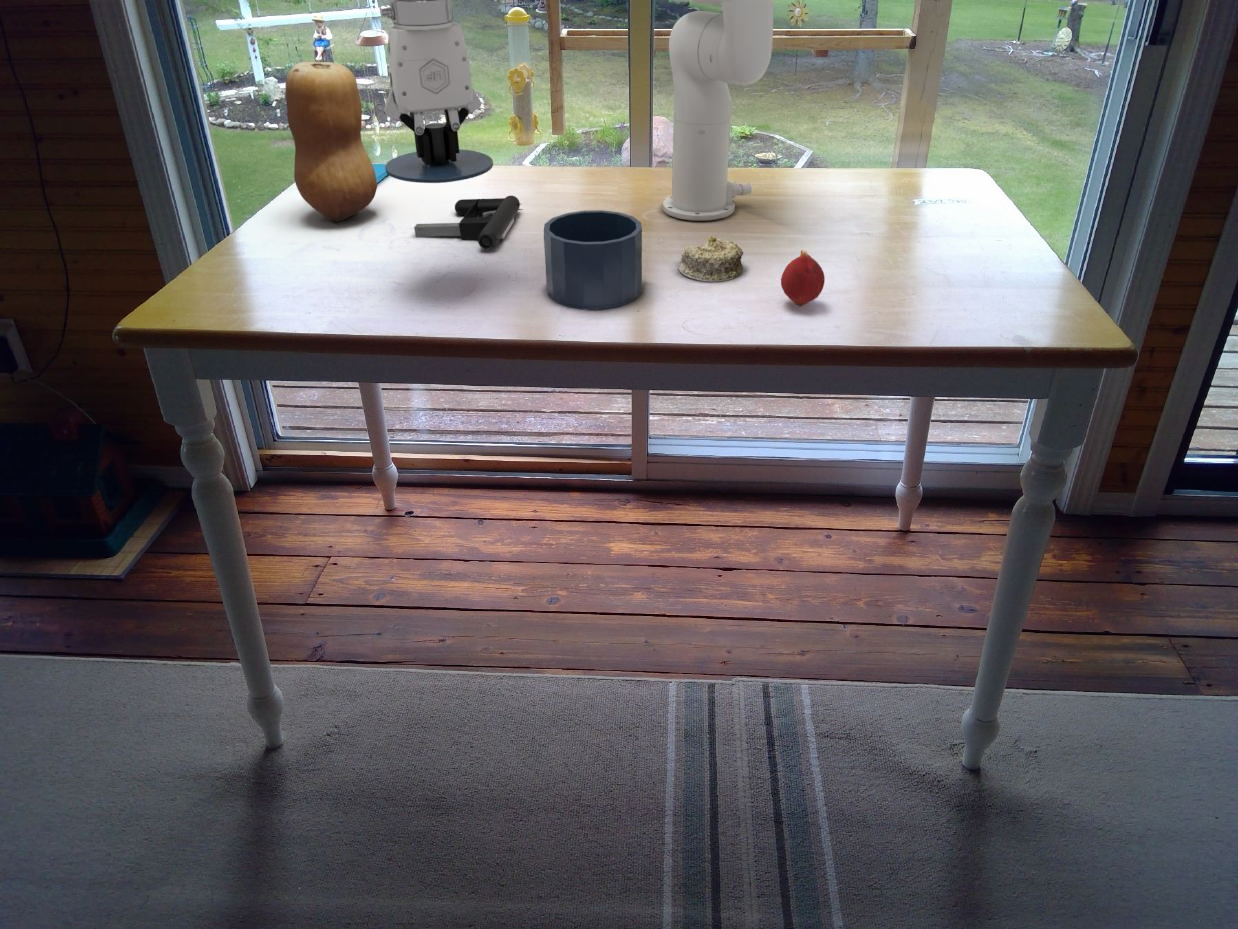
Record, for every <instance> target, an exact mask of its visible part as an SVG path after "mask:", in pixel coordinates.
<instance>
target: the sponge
mask: <svg viewBox="0 0 1238 929" xmlns="http://www.w3.org/2000/svg"><path fill="white" fill-rule="evenodd" d="M386 164H387V163H372V165H373V168H374V171H375V175H376V181H377V184H378V183H380V182H381V181H382V180H383V179H385V178H386V177H387V176H389V175H388V174H387V173H386V170H385V166H386Z"/></svg>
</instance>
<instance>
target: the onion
mask: <svg viewBox="0 0 1238 929" xmlns="http://www.w3.org/2000/svg"><path fill="white" fill-rule="evenodd" d="M825 280H826V279H825V272H824V270H823V268H822V266H821V265H820V264H819V263H818V262H817V260H815V259H814V258H813V257H812V256H811V255H809V253H808V251H807V250H805V249H801V250H800V254H799V256H797V257H796V258H794V259H792V260H791V261H790V262H789V263H788V264H787V265H786V266H785V267H784V270H783V272H782V274H781V279H780V286H781V288H782V292H783V293H784V295H785V296H787V298H788V299H789V300H790V301H791V302H792V303H793V304H794V305H795V306H797V307H803V306H805V305H807V304H809V303H811V302H812V301H815V299H817V298H818V297H819V296H820V295H821V293H822V291H823V289H824V287H825V286H824V285H825Z"/></svg>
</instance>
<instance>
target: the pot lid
mask: <svg viewBox="0 0 1238 929" xmlns="http://www.w3.org/2000/svg"><path fill="white" fill-rule="evenodd" d="M445 124H446V123H442V122H434V123H433V122H431V123H427V124H424V129H425V132H426V134H427V135H428V137H429V145H430V153H431V162H432V163H431V164H430V165H426V164H425V163H424V162H423V161H422V159H421V158H418V156H417V152H416V151H413V152H409V153H405V154H401V155H399V156H396V157H394V158H392V159H390V160H389V161H387V162H386V163H385V164H386V166H385V170H386V173H387V174H388V175H387V176H389V177H391V178H393V179H395V180H399V181H404V182H410V183H419V184H422V183H423V184H443V183H453V182H459V181H464V180H469V179H473V178H476V177H479V176H482V175H484V174H486V173H488V172H489V171H491V170H492V168H493V167H494V160H493V158H492V157H491V156H489V155H488V154H486V153H482V152H481V151H476V150H470V149H461V148H459V153H456V158H457V161H456V162H452V161H450V160H449V152H448V142H447V133H446V125H445Z"/></svg>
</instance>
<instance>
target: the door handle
mask: <svg viewBox="0 0 1238 929" xmlns="http://www.w3.org/2000/svg"><path fill="white" fill-rule="evenodd" d="M520 206H521V202H520V200H519V198H518V197H516V196H515V195H507V196H506V197H503V198H502V197H501V198H500V197H499V198H496V197H495V198H466V199H465V198H464V199H463V198H462V199H459V200H457V201H456V202H455V204H454V211H455V212H456V214H458V215H464V216H463V217H462V218H461V219H460V221H458V222H439V223H432V222H431V223H416V224H415V225H414V226H413V229H414V234H415V237H416V238H421V237H422V238H429V237H431V238H433V237H460V240H461V241H477V243H478V245H479V247H480V248H482V249H483V250H491V249H492V248H494V247H495V246H496V245H497V244H498V243H499V241H500V240H505V238H506V235H507V234H508V232H509V231H510V229H511V228H512V226H513V224H514V222H515V216H516V214H517V213H518V211H523V210H525V209H523V208H520ZM480 215H482V216H480Z"/></svg>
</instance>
